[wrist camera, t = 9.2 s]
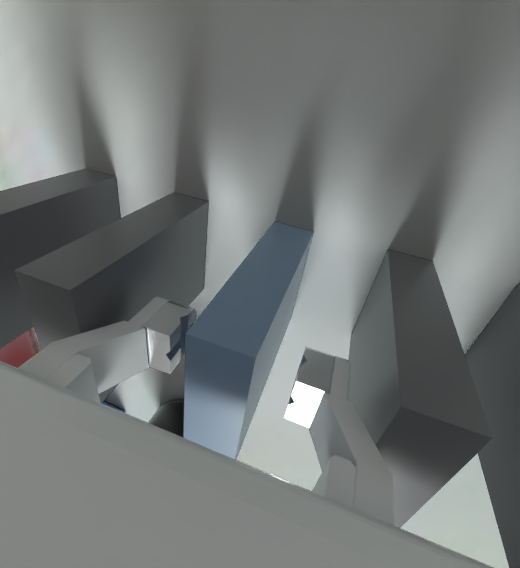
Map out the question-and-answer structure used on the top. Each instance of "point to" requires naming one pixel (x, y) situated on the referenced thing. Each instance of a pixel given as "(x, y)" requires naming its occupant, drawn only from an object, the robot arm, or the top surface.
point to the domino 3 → (241, 340)
